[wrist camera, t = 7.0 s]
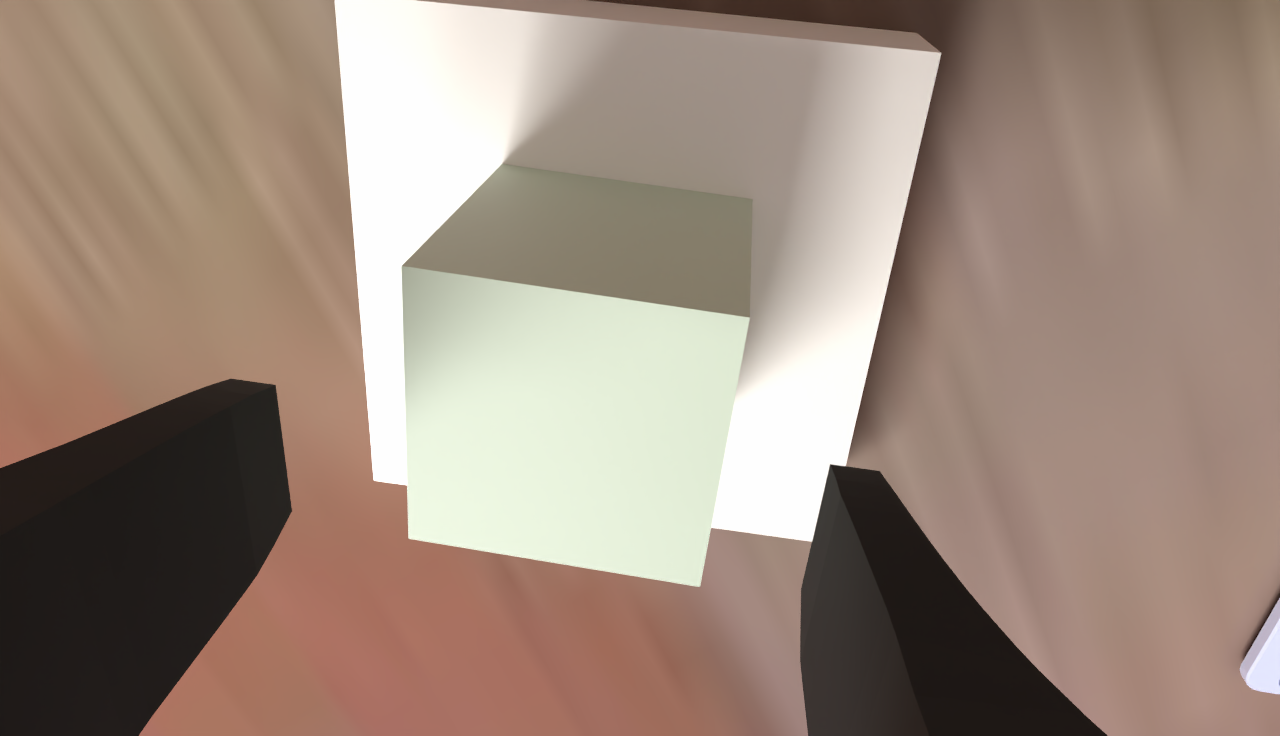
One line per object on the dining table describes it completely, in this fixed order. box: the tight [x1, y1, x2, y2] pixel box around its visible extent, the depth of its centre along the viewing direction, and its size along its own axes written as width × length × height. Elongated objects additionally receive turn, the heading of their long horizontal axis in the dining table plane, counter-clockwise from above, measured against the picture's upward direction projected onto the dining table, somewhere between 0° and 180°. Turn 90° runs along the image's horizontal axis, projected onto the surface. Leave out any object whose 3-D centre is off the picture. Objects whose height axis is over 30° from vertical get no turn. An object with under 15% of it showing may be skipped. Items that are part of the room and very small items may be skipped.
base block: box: [335, 0, 941, 542], centre depth 18 cm, size 10×10×3 cm
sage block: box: [401, 164, 753, 587], centre depth 14 cm, size 4×4×5 cm
